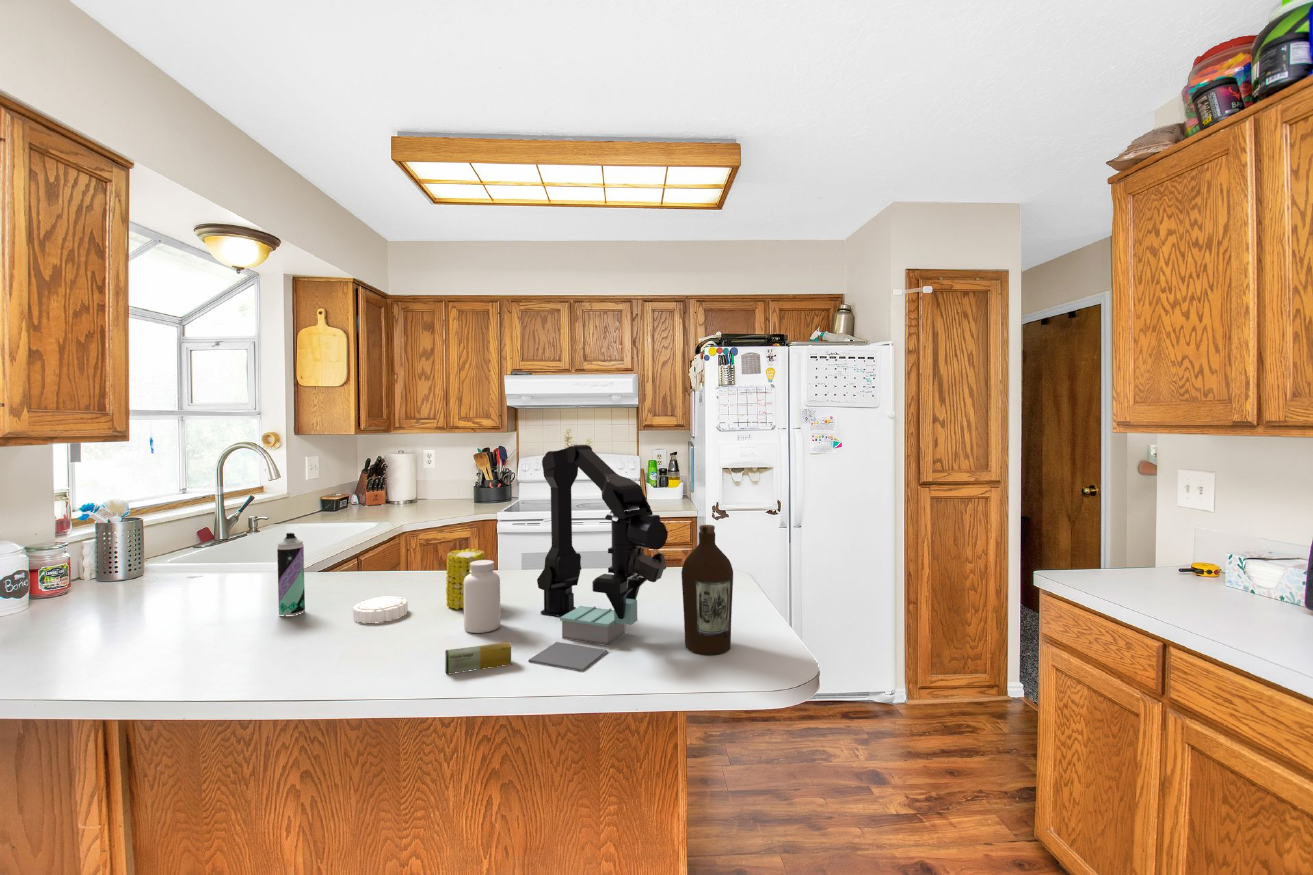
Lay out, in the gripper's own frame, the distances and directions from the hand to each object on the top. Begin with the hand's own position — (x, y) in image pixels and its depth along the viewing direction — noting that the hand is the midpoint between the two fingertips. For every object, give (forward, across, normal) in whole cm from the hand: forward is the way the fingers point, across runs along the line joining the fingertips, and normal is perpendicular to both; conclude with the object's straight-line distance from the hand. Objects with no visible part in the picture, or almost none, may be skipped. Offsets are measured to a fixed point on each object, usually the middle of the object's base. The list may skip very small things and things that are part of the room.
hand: (625, 615), depth 123 cm
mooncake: (+6, -7, +63) cm, 63 cm away
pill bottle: (+6, -5, +34) cm, 35 cm away
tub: (+5, 0, +8) cm, 9 cm away
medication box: (+6, -23, +20) cm, 31 cm away
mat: (+5, -12, +7) cm, 15 cm away
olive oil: (+6, +3, -17) cm, 18 cm away
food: (+6, +7, +49) cm, 50 cm away
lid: (+2, 0, +6) cm, 6 cm away
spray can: (+6, -14, +85) cm, 86 cm away
